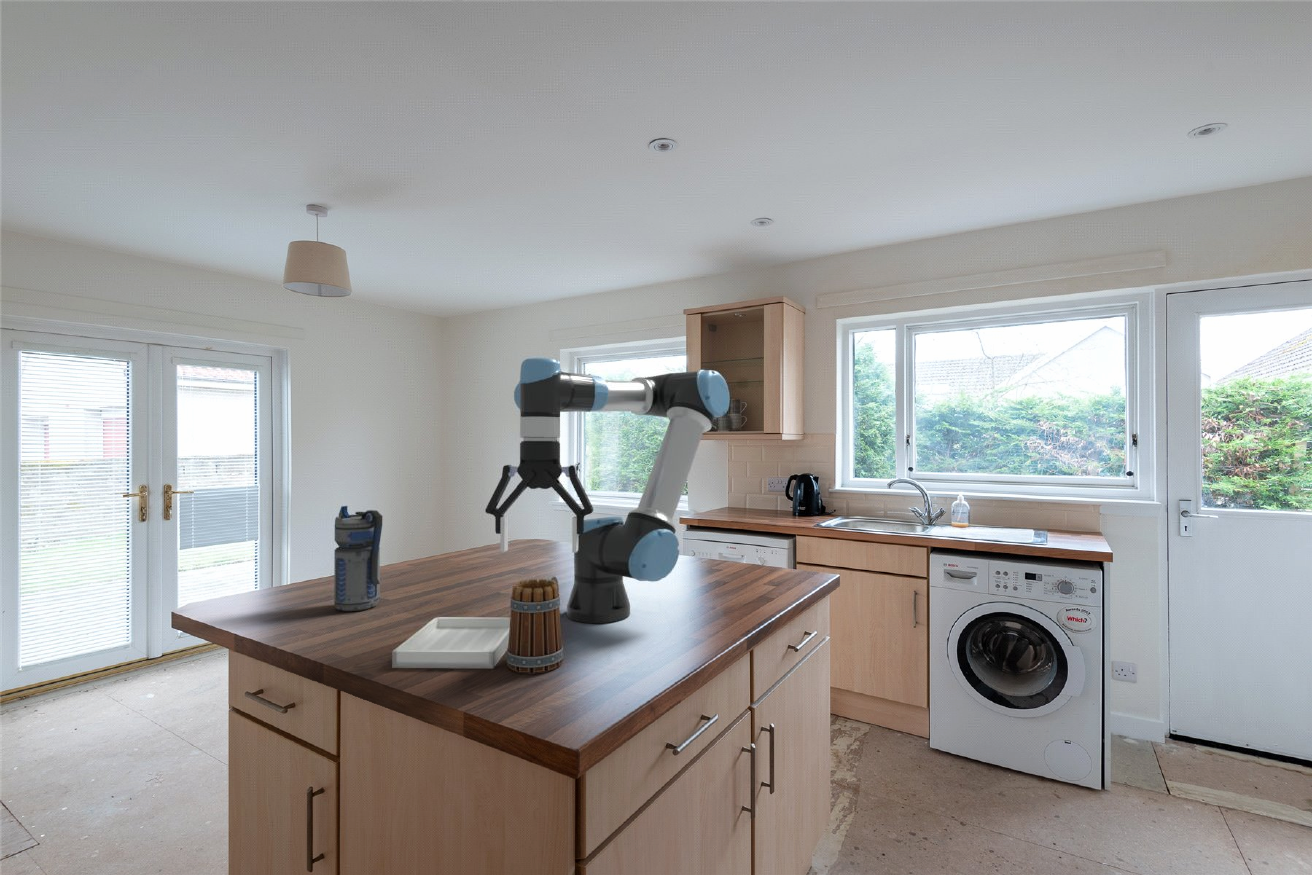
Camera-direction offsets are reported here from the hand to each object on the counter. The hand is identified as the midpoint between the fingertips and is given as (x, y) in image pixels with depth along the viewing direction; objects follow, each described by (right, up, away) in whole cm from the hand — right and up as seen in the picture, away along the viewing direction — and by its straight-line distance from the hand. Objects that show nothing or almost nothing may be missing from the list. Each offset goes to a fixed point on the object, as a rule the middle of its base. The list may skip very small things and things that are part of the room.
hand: (539, 551), depth 117 cm
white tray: (-17, -21, +6) cm, 27 cm away
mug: (0, -21, 0) cm, 21 cm away
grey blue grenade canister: (-51, -21, +36) cm, 66 cm away
